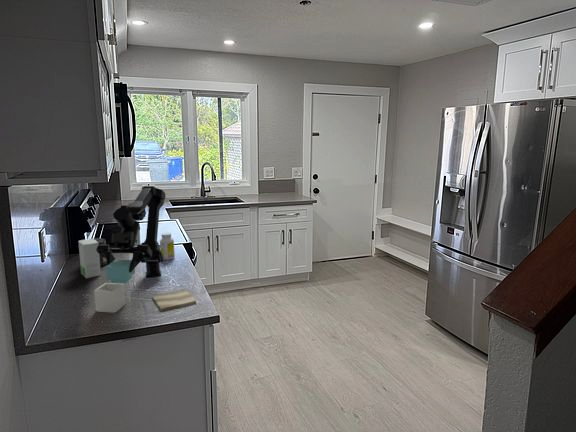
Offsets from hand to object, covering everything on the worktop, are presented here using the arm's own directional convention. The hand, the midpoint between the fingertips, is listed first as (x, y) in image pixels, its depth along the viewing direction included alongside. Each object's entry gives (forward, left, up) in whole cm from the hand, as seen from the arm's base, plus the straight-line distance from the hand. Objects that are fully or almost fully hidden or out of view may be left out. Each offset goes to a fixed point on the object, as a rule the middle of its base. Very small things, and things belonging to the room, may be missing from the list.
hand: (119, 272), depth 139 cm
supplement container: (-55, -13, -14) cm, 58 cm away
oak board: (+1, +18, -14) cm, 23 cm away
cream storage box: (-1, -4, -14) cm, 14 cm away
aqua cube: (-1, +1, -4) cm, 4 cm away
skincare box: (-41, -14, -14) cm, 46 cm away
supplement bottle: (-53, +20, -14) cm, 59 cm away
